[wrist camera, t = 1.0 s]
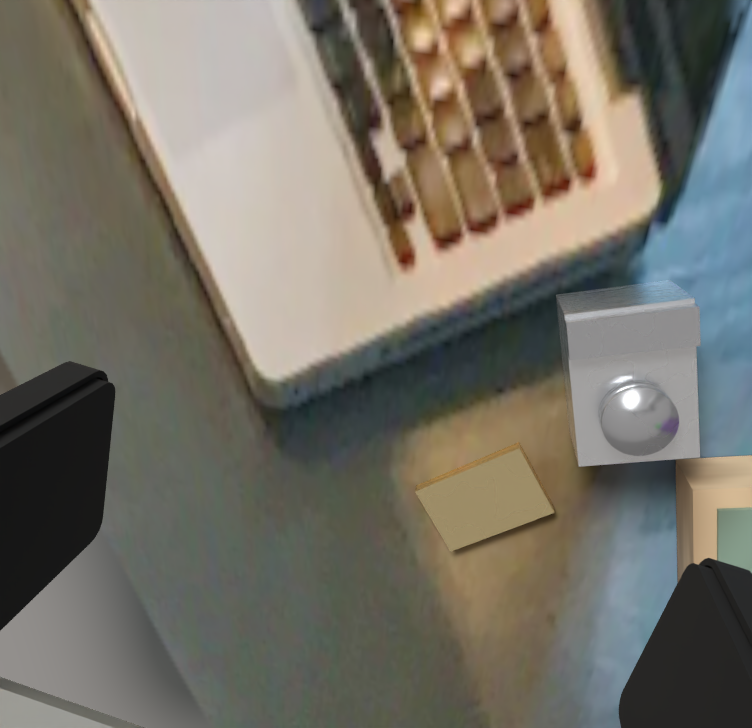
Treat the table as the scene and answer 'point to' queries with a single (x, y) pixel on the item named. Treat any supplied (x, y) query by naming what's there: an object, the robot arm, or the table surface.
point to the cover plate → (485, 497)
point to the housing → (631, 373)
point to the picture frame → (714, 511)
